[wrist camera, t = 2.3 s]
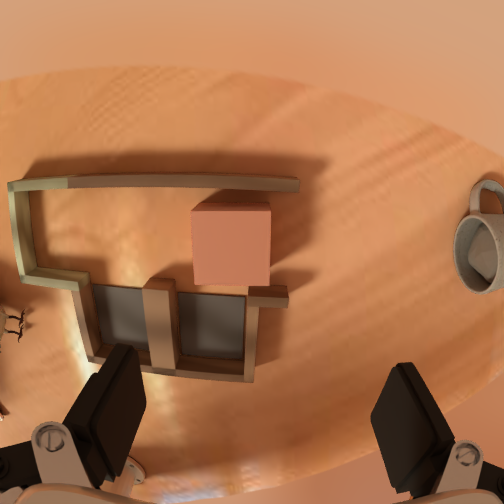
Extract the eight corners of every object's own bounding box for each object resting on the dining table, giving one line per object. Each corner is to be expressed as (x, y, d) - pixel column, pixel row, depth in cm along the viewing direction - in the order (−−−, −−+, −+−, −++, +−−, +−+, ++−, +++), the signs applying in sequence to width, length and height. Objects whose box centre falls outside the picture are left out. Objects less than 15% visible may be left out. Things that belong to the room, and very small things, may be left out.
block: (267, 267, 28) (269, 285, 25) (202, 266, 29) (194, 284, 25) (268, 202, 27) (271, 211, 23) (199, 202, 27) (190, 211, 23)
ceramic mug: (498, 266, 28) (538, 291, 21) (449, 277, 28) (489, 308, 21) (503, 178, 25) (550, 188, 18) (453, 178, 25) (502, 189, 18)
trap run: (276, 368, 32) (277, 383, 30) (49, 339, 32) (39, 349, 29) (296, 177, 26) (300, 180, 23) (21, 179, 25) (7, 182, 23)
